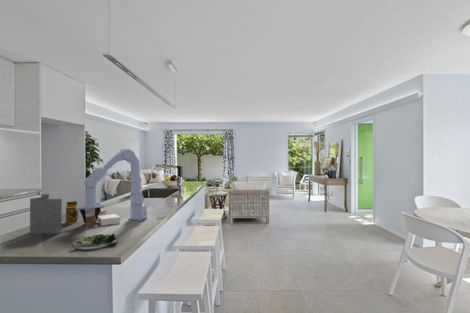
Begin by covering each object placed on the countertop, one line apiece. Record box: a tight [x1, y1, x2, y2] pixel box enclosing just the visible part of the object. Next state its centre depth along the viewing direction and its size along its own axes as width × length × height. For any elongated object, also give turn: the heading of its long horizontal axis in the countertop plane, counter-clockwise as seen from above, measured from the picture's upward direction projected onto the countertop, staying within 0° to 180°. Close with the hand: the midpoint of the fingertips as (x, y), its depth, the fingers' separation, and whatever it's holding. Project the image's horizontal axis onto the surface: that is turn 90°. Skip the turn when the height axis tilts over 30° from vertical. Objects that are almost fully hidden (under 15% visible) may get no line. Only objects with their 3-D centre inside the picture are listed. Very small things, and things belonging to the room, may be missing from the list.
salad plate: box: [69, 233, 119, 251], centre depth 127 cm, size 19×18×5 cm
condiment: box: [62, 200, 81, 224], centre depth 167 cm, size 7×8×12 cm
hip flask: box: [29, 193, 63, 235], centre depth 144 cm, size 16×4×20 cm, turn 87°
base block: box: [97, 213, 121, 226], centre depth 166 cm, size 10×10×4 cm
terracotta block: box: [97, 208, 107, 220], centre depth 178 cm, size 5×5×5 cm
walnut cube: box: [84, 213, 97, 227], centre depth 162 cm, size 5×5×5 cm
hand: (90, 221), depth 162 cm, fingers closed on walnut cube, 5 cm apart
